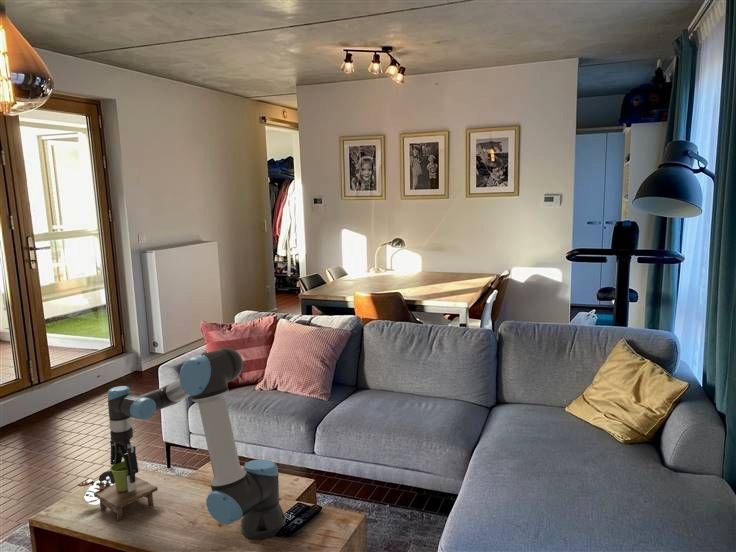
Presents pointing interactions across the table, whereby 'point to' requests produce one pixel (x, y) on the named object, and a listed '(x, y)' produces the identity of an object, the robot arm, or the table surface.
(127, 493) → the footstool
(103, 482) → the figurine
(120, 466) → the plant pot
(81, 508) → the table surface
